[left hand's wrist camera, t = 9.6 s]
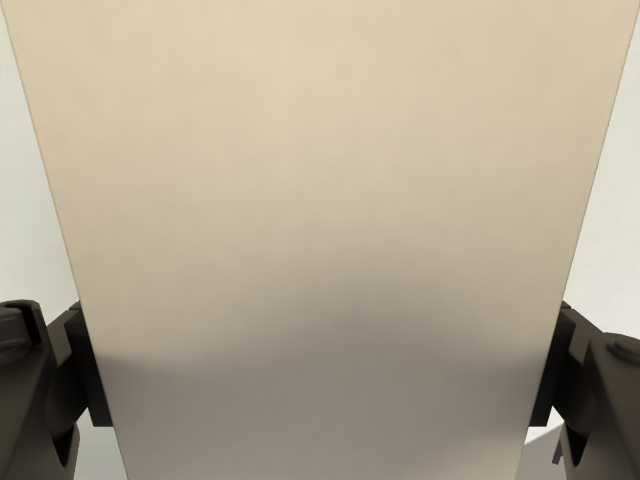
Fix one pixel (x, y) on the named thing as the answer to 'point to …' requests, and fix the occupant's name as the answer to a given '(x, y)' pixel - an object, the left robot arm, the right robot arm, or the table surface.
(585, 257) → the table surface
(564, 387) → the left robot arm
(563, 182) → the wide beam
